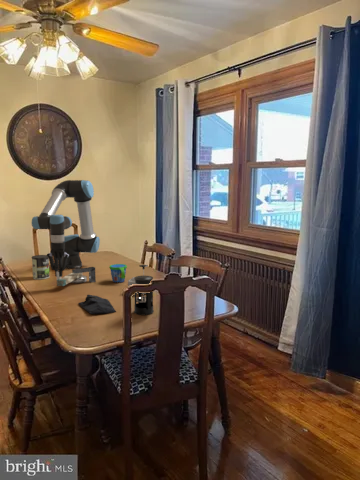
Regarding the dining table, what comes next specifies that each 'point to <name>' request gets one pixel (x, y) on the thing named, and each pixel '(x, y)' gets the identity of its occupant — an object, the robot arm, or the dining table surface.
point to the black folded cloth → (97, 305)
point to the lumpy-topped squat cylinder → (132, 282)
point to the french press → (146, 301)
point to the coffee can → (40, 267)
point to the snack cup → (118, 272)
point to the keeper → (89, 269)
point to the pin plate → (80, 279)
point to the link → (69, 278)
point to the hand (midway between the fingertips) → (59, 282)
